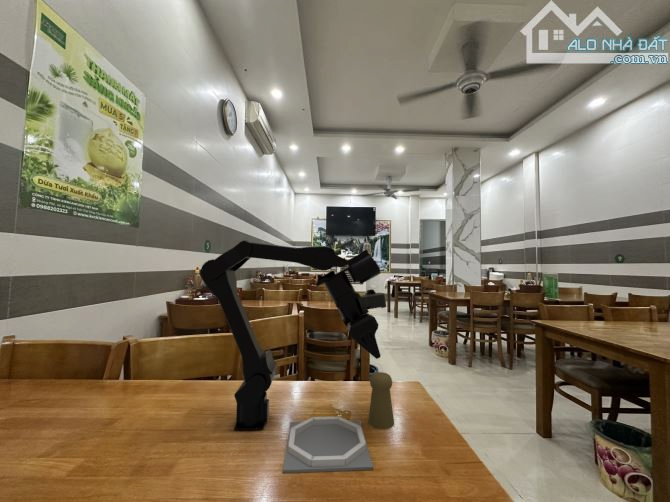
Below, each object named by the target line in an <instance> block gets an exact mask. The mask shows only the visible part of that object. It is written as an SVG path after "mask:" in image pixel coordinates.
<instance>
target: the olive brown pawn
mask: <svg viewBox="0 0 670 502" xmlns="http://www.w3.org/2000/svg"><path fill="white" fill-rule="evenodd" d="M369 383H370V387H371V394H370V402H369V403H370V404H369V412H368V419H367V421H368V424H369V426H371V427H372V428H376V429H380V430H388V429H391V428H393V427H394V425H395V419H394V410H393V404H392V403H393V402H392V396H391V395H392V394H391V389H392V387H393V379H392V377H391V375H390V374H388V373H387V372H381V371H378V372H374V373H372V374H371V375H370V379H369Z"/></svg>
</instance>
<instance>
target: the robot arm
mask: <svg viewBox="0 0 670 502" xmlns="http://www.w3.org/2000/svg"><path fill="white" fill-rule="evenodd" d="M252 258H254V259H261V260H271V261H279V262H289V263H295V264H299V265H301V266H302V265H303V266H307V267H310V268H313V269H316V270H320V271H329V270H330V271H329V272H327V273H325V274H324V275H321V274H317V280H316V283H315V286H316V287H320V286H321V285H323V284H324V286H325V288H326V290H327V291H328V294H329V295H330V297H331V299H332V300H333V303H334V305H335V307H336V308H337V310H338V313H339V315H340V316H341V319H342V321H343V323H344V325H345V327H346V329H347V331H348V333H349V335H350V336H351V339H352V340H353V341H354V342H355V343H357V344H358V345H360V347H361V348H363V349H364V350H365V351H367V353H369V354H370V355H371V356H372V357H374V359H375V360H378V359H380V358H381V356H382V355H381V352H380V349H379V346H378V342H377V338H376V333H377V332H378V331H377V330H378V328H379V322H378V321H377V319H376V317H375V316H373V315H372V314H369V313H370V311H369V310H372V309H379V308H380V309H384V308H387V302H386V296H385V295H386V294H385V293H383V292H376V291H375V290H374V289H366V292H365V294H363V295H360V293H359V292H357V291H356V290H355V288H354V286H353V284H356V283H358V284H359V285H363V284H364V283H366V282H368V281H369V280H372V279H373V278H375V277H377V276H379V275H381V269H380V267H379V265H378V263H377V261H376V260H374V258H373V257H372V255H371V254H370V253H369V252H368V249H364V250H363V251H361V252H359V253H358V254H357V255H355V256H353V257H351V258H349V259H346V257H341V256H340V255H337V254H336V252H335V250H334V249H333V248H332V247H331V246H328V245H315V246H314V245H313V246H304V247H302V246H301V247H296V246H295V247H294V246H286V245H279V244H278V245H277V244H269V243H262V242H252V241H249V240H241V241H239V242H238V243H237V244H236V245H235V246H233V247H232V248H231V249H228V250H226V252H225V251H224V252H223V253H222V254H220V255H219V256H217V257H216V258H215V259H214V258H212V259H208V260H207V261H205V262H204V263H203V264H202V266H201V268H200V270H199V275H200V278H201V280H202V282H203V283H204V284H205V286H206V288H207V289H208V291H209V292H210V293H211V294H212V295H213V296H214V297H215V298H216V299H217V300H218V303H219V305H220V307H221V310H222V311H223V314H224V316H225V319H226V322H227V323H228V327H229V329H230V332H231V334H232V337H233V338H234V339H233V340H234V341H235V343H236V346H237V348H238V350H239V354H240V355H241V362H242V363H241V364H242V365H241V366H242V376H243V379H244V380H243V382H242V383H241V384H240V386H239V387H238V389H237V390H236V392H235V393H234V398H235V403H236V409H235V410H236V414H235V417H236V418H235V424H234V426H233V430H234V431H257V430H258V431H260V430H264V428H265V427H266V426H265V425H266V423H267V422H268V420H269V417H270V400H269V398H268V390H270V388H271V385H272V382H273V381H274V379H275V377H276V372H277V371H276V367H277V365H278V363H277V362H276V361H275V360H274V358H273V354H272V350H271V349H267V350H266V351H265V350H264V349H262V347H261V346H260V344H259V341H258V339H257V337H256V335H255V332H254V328H252V325H251V323H250V320H249V318H248V315H247V313H246V310H245V307H244V305H243V304H242V301H241V298H240V296H239V293H238V285H237V284H238V282H237V281H238V280H237V277H236V272H237V271H238V270H239V269H240V268H242V267H243V266H244V264H245V265H246V263H247V262H248V261H249V260H250V259H252ZM345 266H346V267H345ZM344 267H345V268H344ZM332 268H343V269H341V270H340V271H338V272H335V270H334V269H333V270H331V269H332ZM346 272H347V273H346ZM348 276H349V277H350V278H349V277H348ZM350 279H351V281H352V282H353V284H352V282H351V281H350Z"/></svg>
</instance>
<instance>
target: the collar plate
mask: <svg viewBox="0 0 670 502" xmlns="http://www.w3.org/2000/svg"><path fill="white" fill-rule="evenodd" d="M289 424H290V425H289V428H288V429H289V430H288V434H287V435H288V437H287V443H286V449H285V455H284V460H283V466H282V474H295V473H296V474H299V473H318V472H319V473H321V472H323V473H325V472H343V471H344V472H345V471H348V472H349V471H352V472H353V471H372V470H374V464H373V461H372V457H371V454H370V450H369V448H368V447H369V446H368V443H367V441H366V437H365V433H364V430H363V426H362V423H361V420H360V419H357V420H356V419H354V420H352V419H351V420H350V419H349V420H347V419H346V418H344V417H341V416H316V417H315V416H312V417H309V418H308V419H306V420H304V421H291V422H290V423H289Z"/></svg>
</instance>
